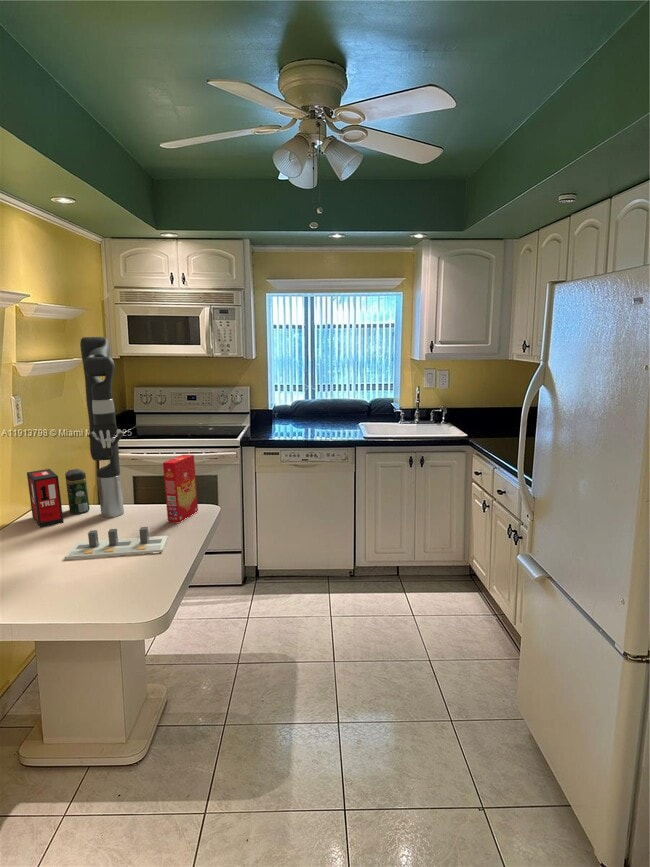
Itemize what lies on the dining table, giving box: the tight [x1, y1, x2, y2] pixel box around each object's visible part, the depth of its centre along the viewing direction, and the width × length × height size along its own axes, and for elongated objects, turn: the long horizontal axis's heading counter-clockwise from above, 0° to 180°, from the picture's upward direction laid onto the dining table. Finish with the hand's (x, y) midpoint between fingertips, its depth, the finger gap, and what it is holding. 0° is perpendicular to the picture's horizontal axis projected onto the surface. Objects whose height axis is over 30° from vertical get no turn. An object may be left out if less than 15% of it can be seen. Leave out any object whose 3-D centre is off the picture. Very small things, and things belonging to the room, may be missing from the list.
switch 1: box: [87, 529, 99, 547], centre depth 205 cm, size 3×2×5 cm
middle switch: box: [107, 528, 119, 545], centre depth 206 cm, size 3×2×5 cm
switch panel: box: [64, 535, 169, 561], centre depth 205 cm, size 14×33×2 cm, turn 97°
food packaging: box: [162, 454, 199, 523], centre depth 236 cm, size 15×5×25 cm, turn 162°
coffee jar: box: [65, 468, 90, 515], centre depth 249 cm, size 10×8×19 cm
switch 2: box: [138, 526, 150, 543], centre depth 207 cm, size 3×2×5 cm
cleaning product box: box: [26, 468, 64, 528], centre depth 238 cm, size 16×9×20 cm, turn 36°
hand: (108, 457), depth 213 cm, fingers closed
